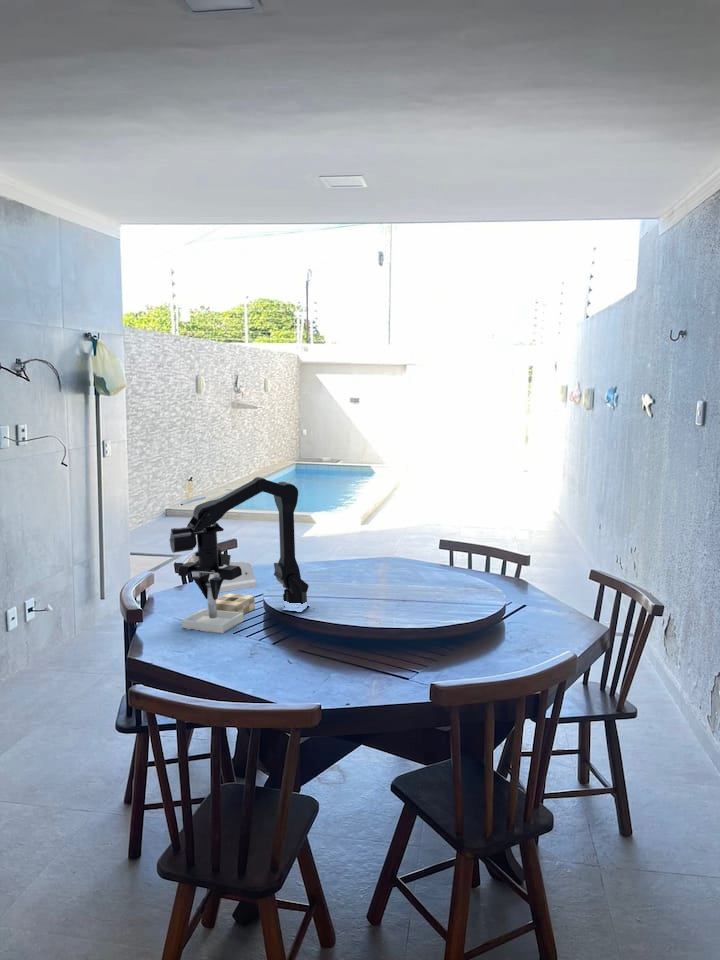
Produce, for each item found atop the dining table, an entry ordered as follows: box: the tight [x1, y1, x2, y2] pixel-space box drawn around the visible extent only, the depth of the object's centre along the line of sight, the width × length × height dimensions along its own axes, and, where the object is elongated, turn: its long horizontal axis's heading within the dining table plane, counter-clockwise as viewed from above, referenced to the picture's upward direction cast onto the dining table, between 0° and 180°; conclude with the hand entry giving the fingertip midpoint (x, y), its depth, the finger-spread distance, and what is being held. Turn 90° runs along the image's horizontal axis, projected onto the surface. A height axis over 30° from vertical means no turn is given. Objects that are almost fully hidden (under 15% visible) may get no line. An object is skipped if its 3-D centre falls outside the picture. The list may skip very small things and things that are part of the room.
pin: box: [205, 580, 217, 619], centre depth 225 cm, size 3×3×11 cm
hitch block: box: [216, 592, 256, 616], centre depth 237 cm, size 10×10×4 cm
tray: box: [181, 608, 244, 635], centre depth 226 cm, size 14×11×2 cm
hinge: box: [208, 560, 258, 594], centre depth 263 cm, size 17×5×10 cm, turn 113°
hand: (211, 599), depth 225 cm, fingers closed on pin, 2 cm apart
